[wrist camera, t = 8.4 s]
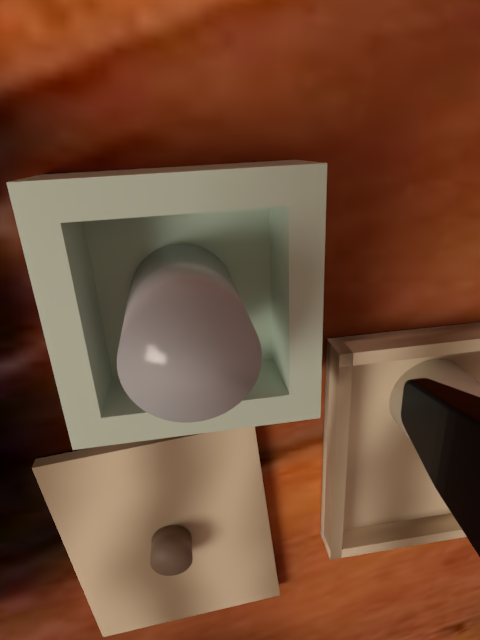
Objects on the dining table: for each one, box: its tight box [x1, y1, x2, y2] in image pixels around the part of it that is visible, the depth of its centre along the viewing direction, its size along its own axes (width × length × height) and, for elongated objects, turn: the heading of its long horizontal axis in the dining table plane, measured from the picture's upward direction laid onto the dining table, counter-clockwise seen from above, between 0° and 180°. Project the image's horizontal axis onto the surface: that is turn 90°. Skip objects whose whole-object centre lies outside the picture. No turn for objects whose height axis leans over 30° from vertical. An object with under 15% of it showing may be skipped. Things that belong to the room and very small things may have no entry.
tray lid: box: [32, 426, 280, 637], centre depth 21 cm, size 10×12×2 cm
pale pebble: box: [389, 359, 480, 439], centre depth 18 cm, size 4×4×6 cm
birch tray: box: [321, 322, 480, 560], centre depth 21 cm, size 10×12×2 cm
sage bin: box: [6, 160, 327, 450], centre depth 16 cm, size 9×9×4 cm
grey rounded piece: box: [117, 244, 262, 423], centre depth 14 cm, size 4×4×6 cm
